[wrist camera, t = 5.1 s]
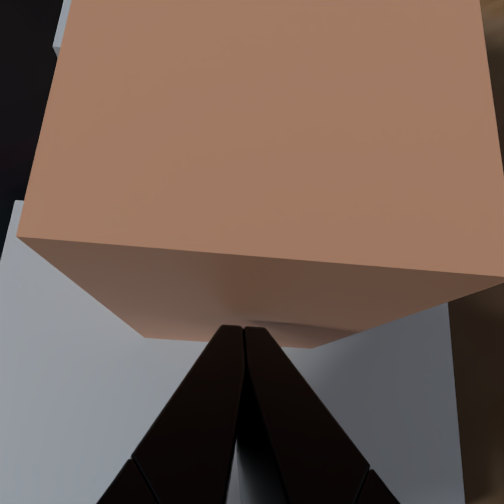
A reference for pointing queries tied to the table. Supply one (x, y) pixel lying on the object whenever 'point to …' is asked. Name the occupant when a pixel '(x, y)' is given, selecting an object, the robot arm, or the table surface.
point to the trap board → (173, 372)
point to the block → (270, 164)
